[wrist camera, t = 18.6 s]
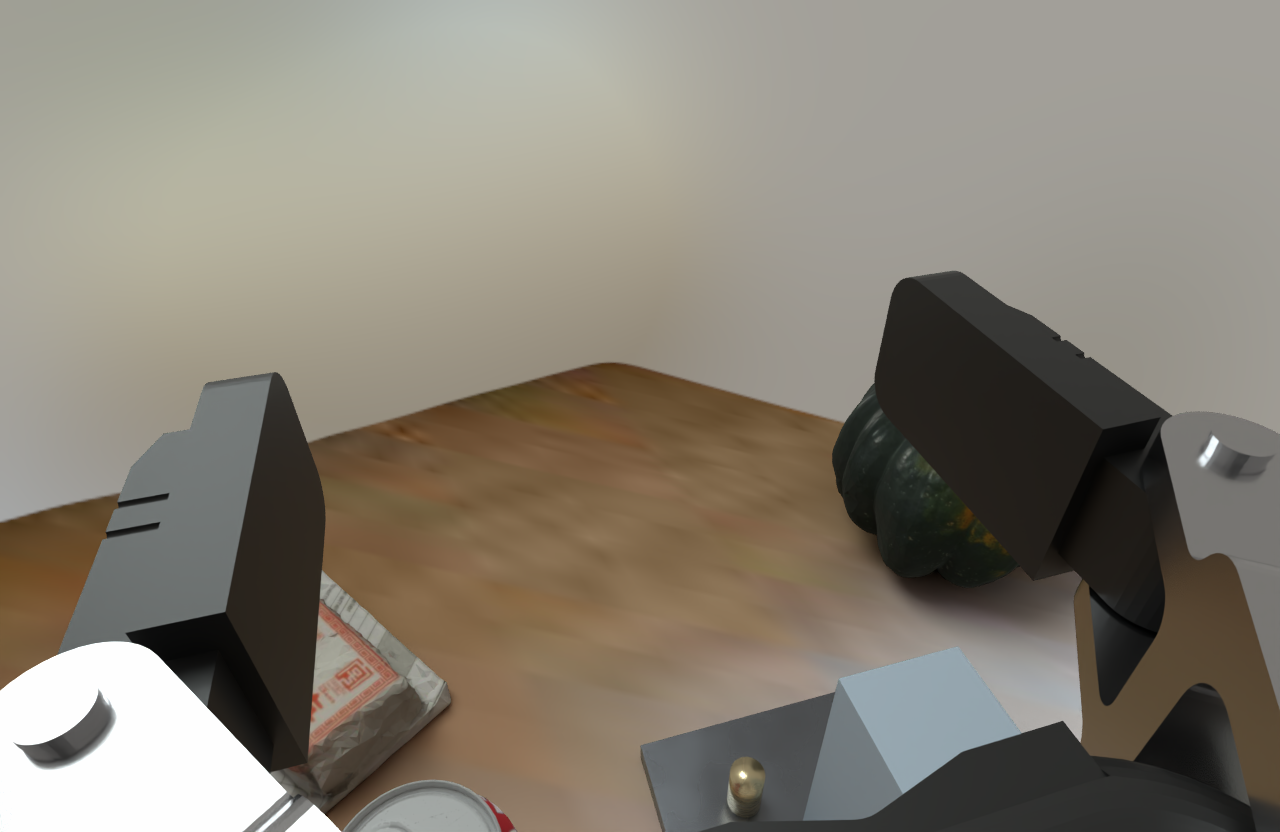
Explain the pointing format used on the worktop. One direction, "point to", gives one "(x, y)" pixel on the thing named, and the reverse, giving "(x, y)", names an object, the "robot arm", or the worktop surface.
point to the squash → (910, 504)
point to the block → (900, 732)
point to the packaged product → (359, 701)
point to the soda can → (430, 811)
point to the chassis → (738, 768)
